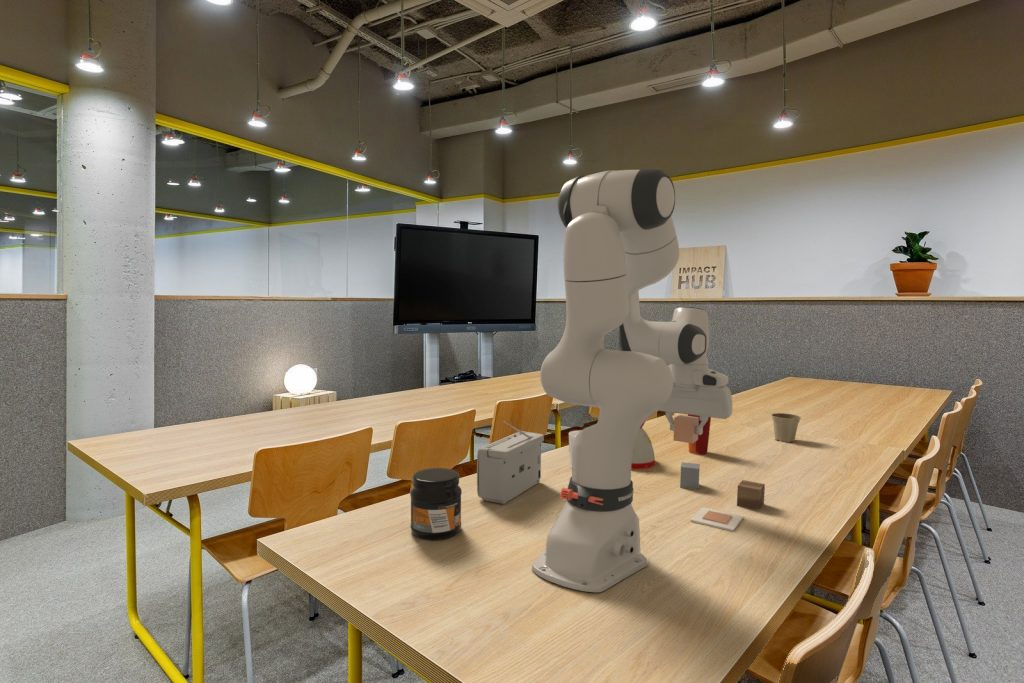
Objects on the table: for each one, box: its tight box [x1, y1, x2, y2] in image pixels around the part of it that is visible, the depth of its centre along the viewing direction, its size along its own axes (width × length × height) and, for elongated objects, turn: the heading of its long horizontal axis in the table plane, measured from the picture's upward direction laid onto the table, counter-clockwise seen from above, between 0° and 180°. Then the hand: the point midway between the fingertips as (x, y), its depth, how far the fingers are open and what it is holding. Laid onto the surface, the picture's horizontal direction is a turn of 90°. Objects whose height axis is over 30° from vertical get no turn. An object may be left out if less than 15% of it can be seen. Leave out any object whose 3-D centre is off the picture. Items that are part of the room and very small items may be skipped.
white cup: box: [568, 429, 583, 470], centre depth 160 cm, size 8×8×10 cm
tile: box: [689, 506, 744, 532], centre depth 123 cm, size 9×9×1 cm
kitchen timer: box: [631, 421, 656, 470], centre depth 166 cm, size 14×14×15 cm
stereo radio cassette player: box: [476, 420, 545, 505], centre depth 140 cm, size 21×8×20 cm, turn 150°
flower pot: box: [770, 412, 802, 443], centre depth 194 cm, size 9×9×9 cm
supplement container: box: [409, 467, 463, 541], centre depth 116 cm, size 10×10×12 cm
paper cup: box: [687, 414, 712, 456], centre depth 178 cm, size 8×8×14 cm
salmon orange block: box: [672, 414, 699, 444], centre depth 134 cm, size 4×4×6 cm
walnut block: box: [736, 479, 766, 512], centre depth 132 cm, size 5×5×5 cm
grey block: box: [679, 461, 701, 491], centre depth 146 cm, size 4×4×6 cm
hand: (686, 432), depth 134 cm, fingers closed on salmon orange block, 4 cm apart
